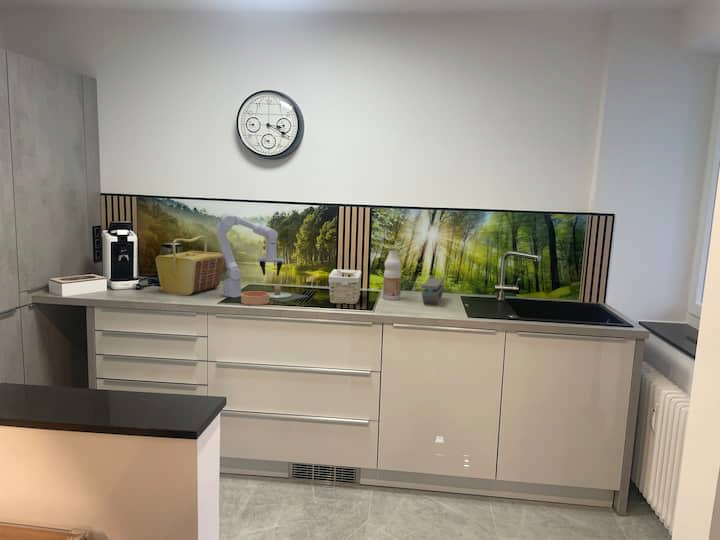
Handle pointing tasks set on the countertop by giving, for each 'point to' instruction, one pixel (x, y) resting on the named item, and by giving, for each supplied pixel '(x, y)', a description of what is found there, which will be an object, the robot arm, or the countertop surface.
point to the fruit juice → (392, 276)
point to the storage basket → (344, 286)
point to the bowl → (255, 298)
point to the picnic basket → (189, 270)
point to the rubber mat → (293, 297)
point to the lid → (278, 293)
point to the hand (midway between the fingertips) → (271, 275)
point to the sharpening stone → (432, 291)
